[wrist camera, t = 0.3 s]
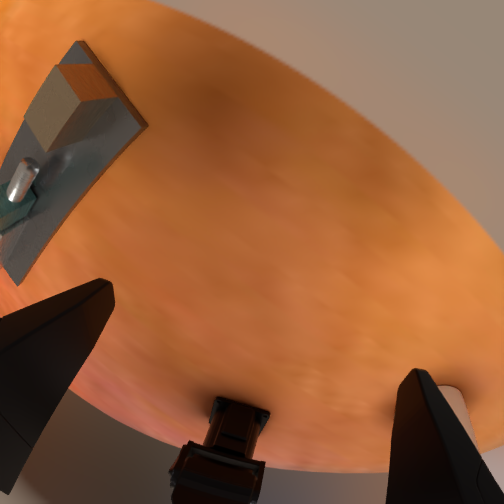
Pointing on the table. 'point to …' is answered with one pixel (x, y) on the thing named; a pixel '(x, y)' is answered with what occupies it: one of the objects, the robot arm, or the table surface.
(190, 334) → the table surface
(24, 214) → the sliding bolt with handle
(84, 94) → the sleeve and socket
